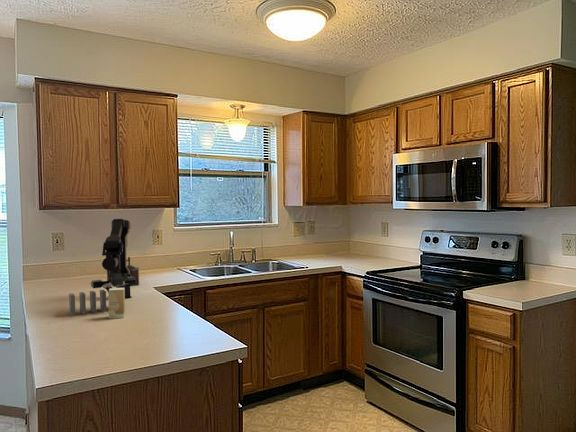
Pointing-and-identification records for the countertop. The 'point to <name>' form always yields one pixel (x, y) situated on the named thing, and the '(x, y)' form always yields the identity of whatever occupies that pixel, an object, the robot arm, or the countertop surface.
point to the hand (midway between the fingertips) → (114, 300)
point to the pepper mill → (133, 272)
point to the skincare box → (116, 303)
